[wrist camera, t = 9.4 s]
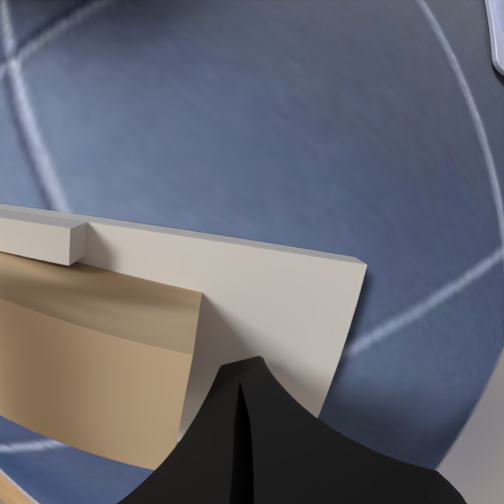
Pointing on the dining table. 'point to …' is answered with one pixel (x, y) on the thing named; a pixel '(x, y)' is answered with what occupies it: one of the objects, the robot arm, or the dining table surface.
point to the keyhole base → (217, 293)
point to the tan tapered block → (95, 357)
